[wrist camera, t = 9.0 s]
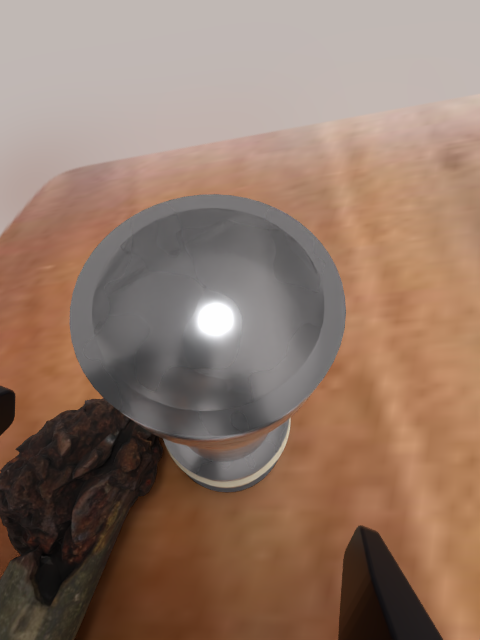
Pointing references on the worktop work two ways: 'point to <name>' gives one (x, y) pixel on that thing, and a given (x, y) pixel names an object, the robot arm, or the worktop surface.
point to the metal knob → (209, 327)
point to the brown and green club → (68, 515)
